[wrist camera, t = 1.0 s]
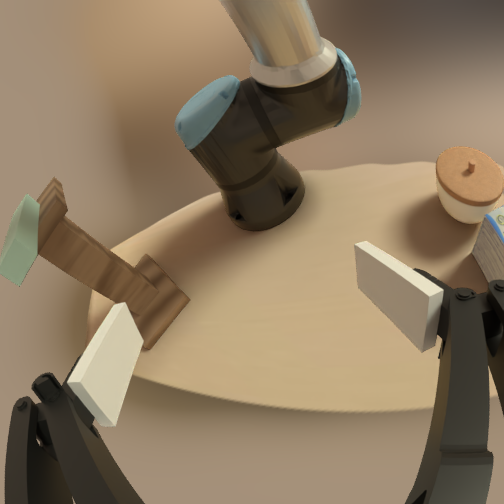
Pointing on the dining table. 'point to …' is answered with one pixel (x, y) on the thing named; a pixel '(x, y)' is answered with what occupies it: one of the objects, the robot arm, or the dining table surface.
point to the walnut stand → (107, 268)
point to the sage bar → (21, 241)
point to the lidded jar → (468, 183)
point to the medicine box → (491, 245)
